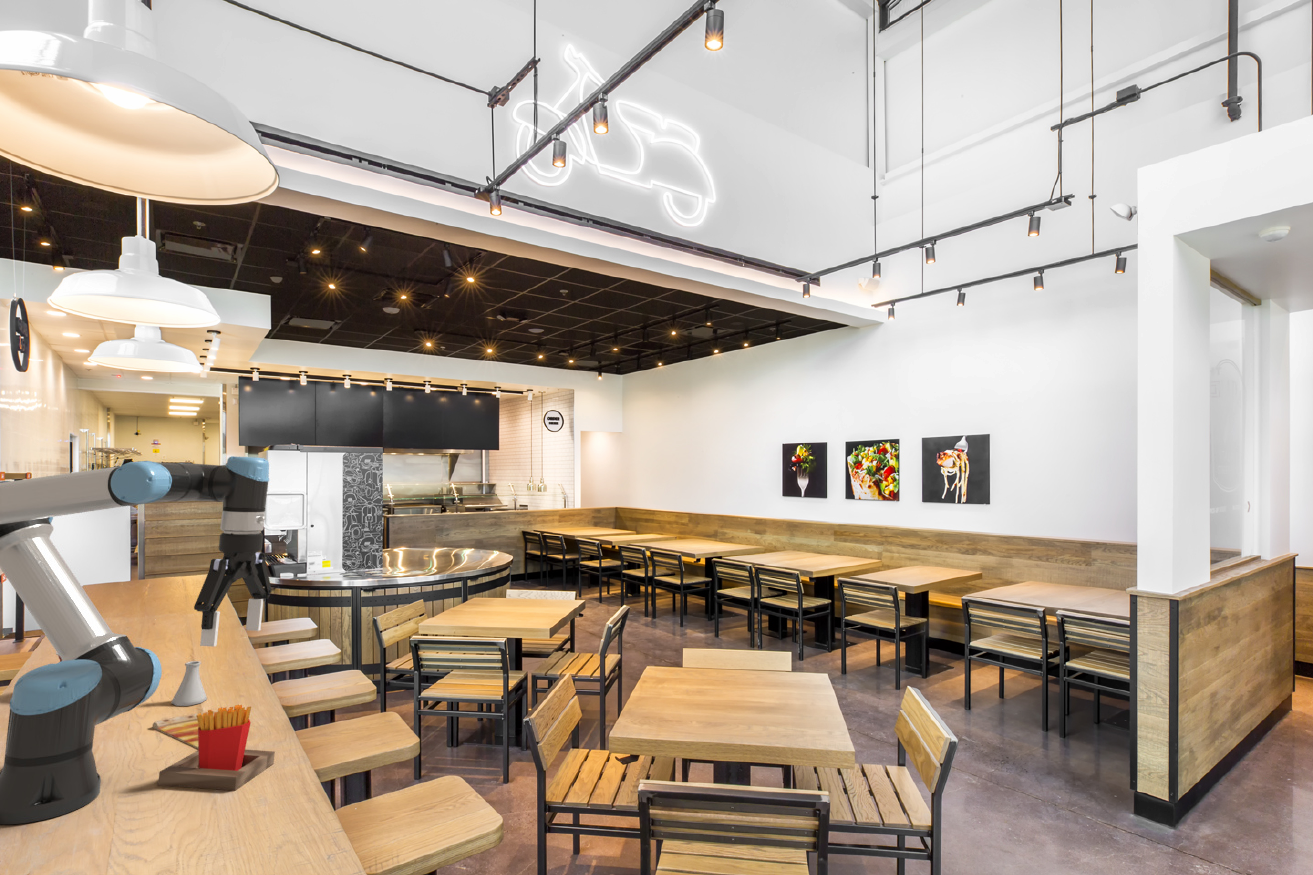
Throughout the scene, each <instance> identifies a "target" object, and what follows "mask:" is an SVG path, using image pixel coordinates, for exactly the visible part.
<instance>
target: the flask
mask: <svg viewBox="0 0 1313 875" xmlns="http://www.w3.org/2000/svg"><path fill="white" fill-rule="evenodd" d="M201 663H202V661H199V660H192V661H188V662H185V663H184V666H185V672H184V675H183V678H182V681H181V683H180V684H179V686H178V689H177V691H176V693H175V694H174V696H173V698H172V700H171V701H170V704H172V705H174V706H176V707H177V706H178V707H179V706H181V707H188V706H189V707H190V706H193V705H199V704H201V703H203V702H205V701H206V700H208V697H207V694H206V691H205V689H204V686H203V683H202V680H201V677H200V665H202V664H201Z"/></svg>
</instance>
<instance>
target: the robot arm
mask: <svg viewBox="0 0 1313 875" xmlns="http://www.w3.org/2000/svg"><path fill="white" fill-rule="evenodd" d="M269 474H270V464H269V460H267V459H266V458H263V457H251V456H229V457H228V458H227V460H226V464H224V465H223V464H219V465H218V464H205V463H203V464H202V463H191V462H161V461H159V462H158V461H150V460H140V461H139V460H138V461H130V462H127V463H124V464H122V465H120V466H113V467H104V468H99V469H98V468H97V469H91V470H84V471H83V470H82V471H76V472H68V473H62V474H61V473H60V474H55V475H49V476H48V475H47V476H40V477H33V478H26V479H20V480H12V481H11V480H2V481H1V480H0V569H1V571H2V573H3V574H4V576H5V577H6V579H7V581H8V582H9V583H10V584H11V586H12V587H13V589H14V591H15V592H16V593H17V595H18V597H19V598H20V599H21V601H22V602H23V604H24V605H25V607H26V609H27V610H28V611H29V614H31V616H32V617H33V619H34V620H35V622H36V623H37V625H38V626H39V628H40V629H41V631H42V632H43V633H44V635H45V637H46V638H47V640H48V641H49V643H50V644H51V646H52V647H53V649H54V650H55V651H56V652H57V653H58V654H59V656H60V657H61V659H62V661H61V662H60V661H59V662H56V663H48V664H45V665H41V666H39V667H36V668H33V669H31V670H30V671H28V672H26V673H24V674H23V675H22V676H20V677H19V678H18V679H17V681H16V682H15V684H14V686H13V690H12V695H11V697H10V700H9V716H8V724H7V725H8V726H7V733H6V743H5V744H6V745H5V752H4V754H5V755H4V761H3V762H4V763H3V767H2V769H1V770H0V825H17V824H19V825H21V824H27V823H33V822H34V823H35V822H40V821H44V820H48V819H52V818H56V817H60V816H63V815H66V814H68V813H71V812H74V811H76V810H78V809H81V808H83V807H85V806H86V805H88V804H90V803H91V802H93V801H94V800H95V799H96V798H98V796H99V795H100V792H101V784H102V778H101V776H100V774H99V772H98V771H97V765H96V760H95V756H94V753H93V747H94V746H93V745H94V738H95V737H94V736H95V728H96V726H97V725H99V724H102V723H104V722H106V721H108V720H110V719H112V718H115V717H116V716H119V715H120V714H124V713H127V712H130V711H132V710H133V709H135V708H136V707H138V706H139V705H141V704H143V703H145V702H146V701H148V700H149V699H150V698H151V697H153V695H154V694H155V693H156V691H157V689H158V687H159V685H160V681H161V679H162V674H163V673H162V664H161V661H160V659H159V657H158V655H157V654H156V653H155V652H154V651H152V650H151V649H148V648H143V647H141V646H134V644H133V643H132V642H131V640H130V639H129V637H128V636H127V635H126V634H123V633H122V634H121V633H114V632H113V631H112V629H111V628H110V626H109V625H108V624H107V622H106V620H105V619H104V618H103V616H102V615H101V613H100V612H99V610H98V608H97V607H96V606H95V604H94V602H93V601H92V600H91V598H90V597H89V595H88V593H86V590H85V589H84V588H83V586H82V585H81V583H80V582H79V580H78V579H77V577H76V576H75V575H74V573H73V571H72V570H71V568H70V567H69V566H68V564H67V563H66V561H65V560H64V558H63V557H62V555H61V554H60V552H59V551H58V549H57V548H56V546H55V545H54V543H53V541H52V540H51V539H50V537H51V535H52V533H53V531H54V526H53V525H52V521H53V519H54V517H60V516H61V517H62V516H67V515H75V514H80V513H87V512H88V513H89V512H94V511H100V510H108V509H109V510H110V509H114V508H121V507H131V506H132V507H133V506H139V505H145V504H153V503H166V502H167V503H168V502H170V503H171V502H172V503H173V502H191V501H192V502H194V501H195V502H196V501H197V502H217V503H218V502H220V503H222V511H221V520H220V527H219V529H220V530H221V531H223V532H222V533H221V534H220V535H219V540H218V541H219V542H218V550H219V552H221V553H222V554H223V556H222V558H220V559H219V558H212V559H211V560H210V564H209V570H208V572H207V575H206V576H205V579H204V582H203V584H202V587H201V589H200V592H199V593H198V596H197V599H196V601H195V603H194V605H193V609H194V611H197V612H201V613H202V617H201V625H200V627H201V633H200V641H199V642H200V644H199V646H200V647H217V645H218V634H219V625H220V615H221V611H218V608H219V607H220V605H221V603H222V601H223V600H224V598H225V596H226V595H227V593H228V592H229V590H230V588H231V587H232V584H233V583H236V582H237V580H240V579H243V582H244V584H245V586H246V588H247V590H248V591H249V594H250V596H251V598H249V599H248V605H247V615H246V624H245V630H246V631H256V632H260V631H261V629H262V628H261V627H262V620H263V619H262V618H263V609H264V599H267V600H268V599H269V598H270V596H271V593H272V590H273V589H272V587H271V581H270V576H269V572H268V568H267V563H266V562H267V561H266V560H267V558H266V557H267V555H266V552H261V551H262V549H263V542H264V540H263V539H264V535H263V533H262V532H261V531H264V527H265V520H266V518H265V515H266V504H267V494H268V487H269V486H268V485H269V482H270V477H269V476H270V475H269Z"/></svg>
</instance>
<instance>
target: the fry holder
mask: <svg viewBox="0 0 1313 875" xmlns="http://www.w3.org/2000/svg"><path fill="white" fill-rule="evenodd" d="M275 752H276V751H271V750H257V749H246V748H245V752H244V757H243V762H242V767H241V769H239V770H238V771H233V770H218V769H204V768H199V754H198V750H196V751H195V752H193V753H191V754H189V755H187V756H186V757H183V758H181V759H179V760H178V761H177V762H174V763H172V764H170V765H169V766H167V767H165V768H164V769H162V770H160V771H159V774H158V783H157V786H162V787H164V786H165V787H178V788H191V789H207V790H221V791H223V790H224V791H237V790H238V789H239V788H241V787H242V786H244V785H245V784H247V783H249V782H250V781H252V779H254V778H255V777H257V776H258V775H261V773H262V772H264V771H265V770H267V769H268V768H270V767H272V766H273V765H274V764H275V763H274V762H275Z"/></svg>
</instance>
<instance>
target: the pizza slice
mask: <svg viewBox="0 0 1313 875" xmlns="http://www.w3.org/2000/svg"><path fill="white" fill-rule="evenodd" d="M206 712H207V715H208V711H206ZM214 712H218V710H216V711H213V717H214ZM200 713H201V715H203V713H204V712H200ZM197 714H199V713H191V714H186V715H181V716H175V717H170V718H164V719H160V720H157V721H154V722H153V723H152V727H151V728H152V729H154V730H156V731H158V732H161V733H163V734H164V735H167V736H169V737H172V738H173V739H176V740H178V741H180V742H182V743H184V744H186V745H189V746H190V747H193V748H194V749H197V750H198V727H199V724H198V721H197V717H196V716H197Z"/></svg>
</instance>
